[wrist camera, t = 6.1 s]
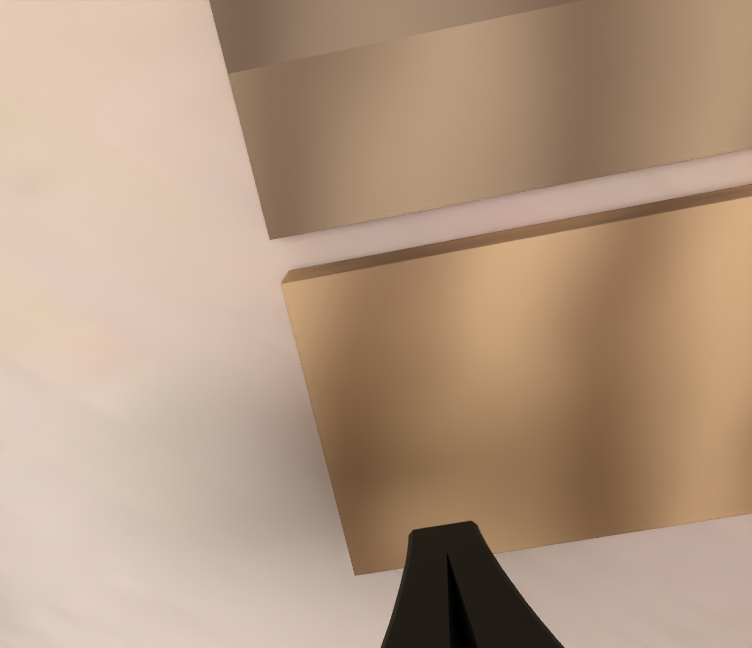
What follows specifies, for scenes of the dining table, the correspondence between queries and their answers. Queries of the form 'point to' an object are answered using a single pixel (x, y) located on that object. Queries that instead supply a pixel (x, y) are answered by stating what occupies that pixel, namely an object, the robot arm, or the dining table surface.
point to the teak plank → (537, 378)
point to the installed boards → (474, 97)
